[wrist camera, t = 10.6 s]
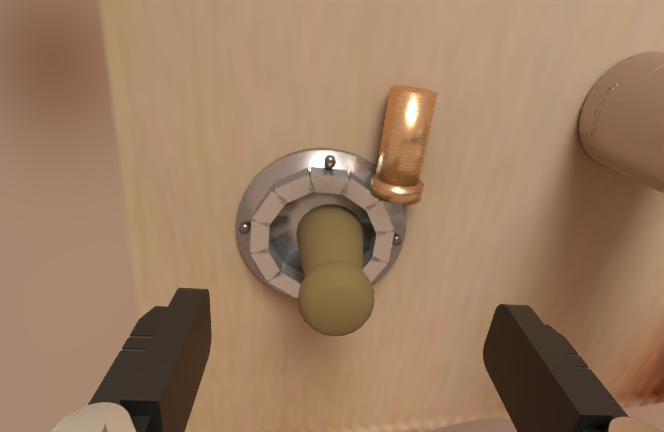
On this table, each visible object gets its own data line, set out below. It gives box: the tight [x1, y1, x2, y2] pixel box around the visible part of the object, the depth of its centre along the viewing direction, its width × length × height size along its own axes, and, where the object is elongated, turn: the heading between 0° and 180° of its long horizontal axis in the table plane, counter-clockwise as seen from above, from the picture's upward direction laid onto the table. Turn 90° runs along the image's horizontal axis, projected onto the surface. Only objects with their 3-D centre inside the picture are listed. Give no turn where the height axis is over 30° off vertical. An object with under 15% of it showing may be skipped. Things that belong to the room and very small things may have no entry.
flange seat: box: [236, 148, 405, 299], centre depth 35 cm, size 15×15×2 cm
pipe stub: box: [370, 86, 438, 205], centre depth 31 cm, size 8×4×4 cm, turn 175°
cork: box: [296, 204, 374, 336], centre depth 31 cm, size 6×6×11 cm
